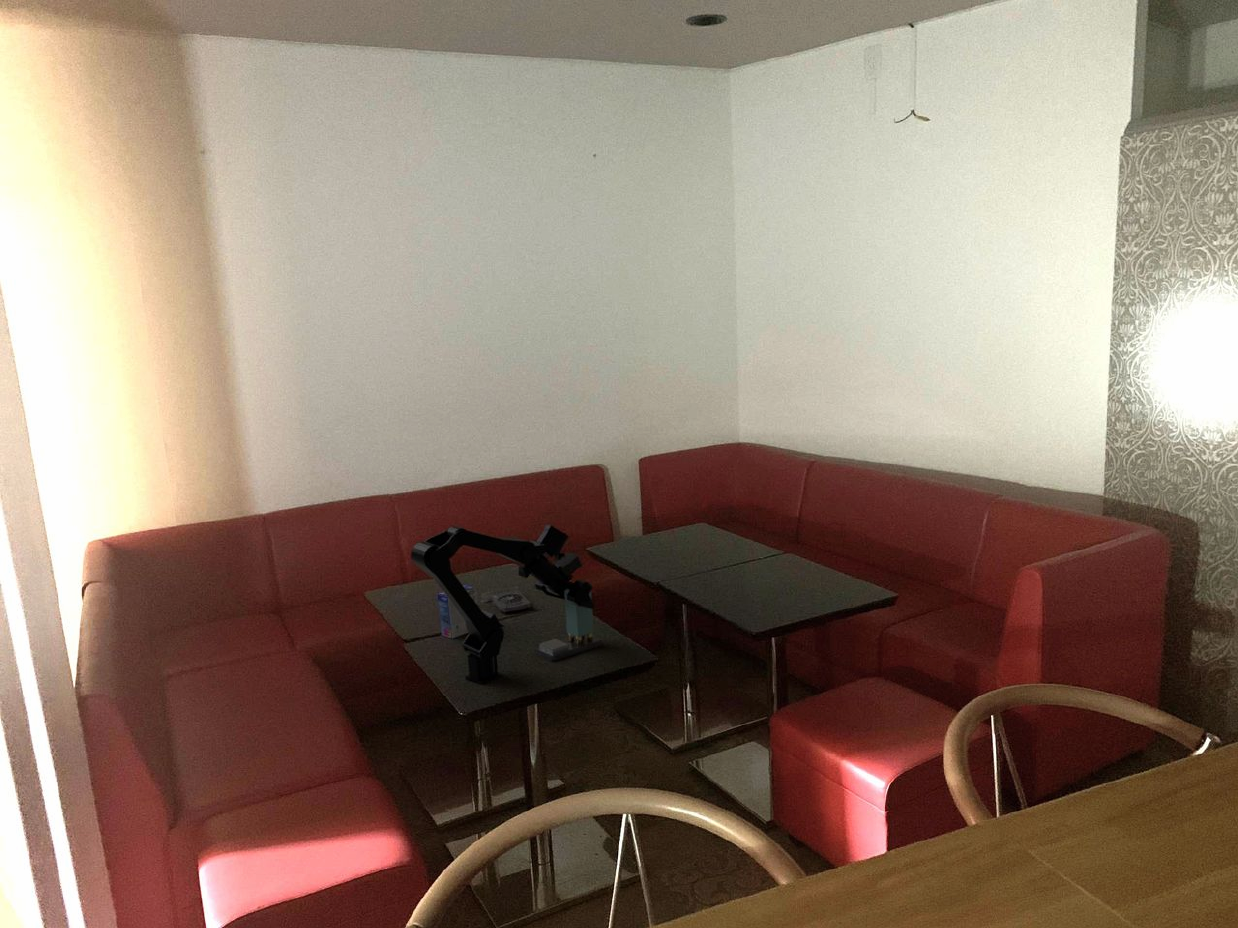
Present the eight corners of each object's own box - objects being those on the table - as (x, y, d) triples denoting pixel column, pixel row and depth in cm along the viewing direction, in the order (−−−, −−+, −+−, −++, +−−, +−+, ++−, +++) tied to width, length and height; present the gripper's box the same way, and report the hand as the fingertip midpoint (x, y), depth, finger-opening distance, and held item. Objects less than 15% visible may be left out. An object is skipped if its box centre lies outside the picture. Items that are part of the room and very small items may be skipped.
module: (578, 637, 244) (575, 590, 242) (566, 632, 248) (563, 587, 246) (593, 632, 248) (590, 586, 245) (582, 627, 251) (579, 582, 249)
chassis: (552, 661, 238) (551, 648, 237) (534, 653, 244) (533, 640, 244) (602, 644, 248) (601, 632, 247) (584, 637, 254) (583, 625, 253)
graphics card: (479, 592, 290) (517, 585, 294) (481, 604, 290) (518, 596, 295) (494, 608, 274) (533, 600, 278) (495, 620, 275) (534, 612, 279)
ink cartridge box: (468, 625, 269) (464, 576, 267) (480, 629, 265) (476, 579, 263) (439, 635, 262) (435, 584, 260) (452, 639, 258) (447, 588, 256)
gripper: (584, 551, 234) (621, 584, 243) (541, 539, 249) (577, 571, 257) (560, 589, 231) (598, 621, 239) (518, 574, 245) (556, 605, 254)
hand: (582, 603), depth 247 cm, fingers open, 9 cm apart
